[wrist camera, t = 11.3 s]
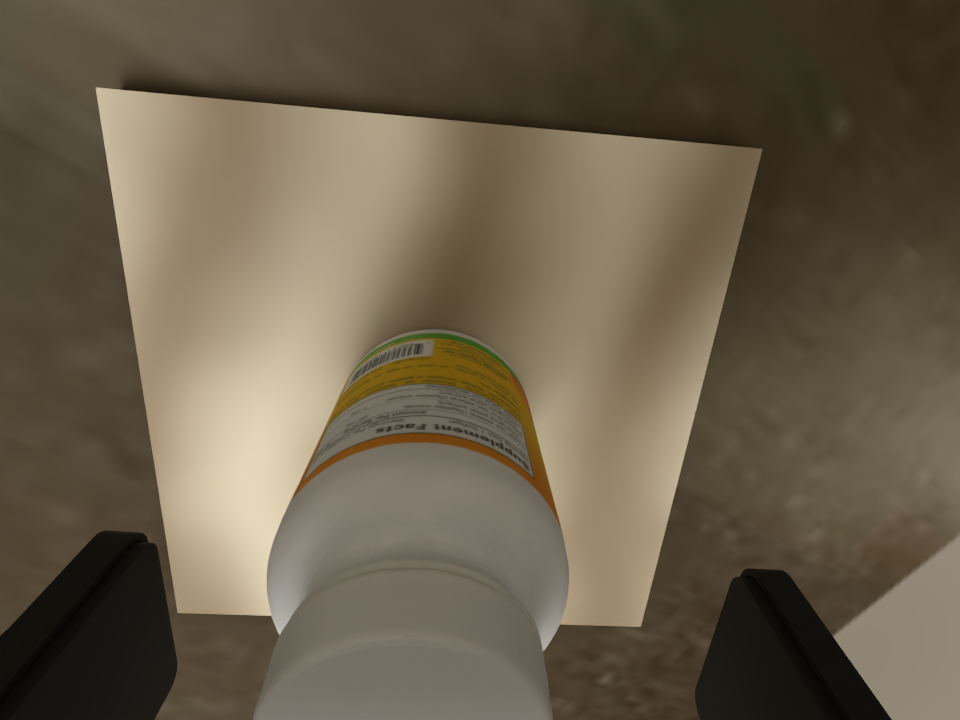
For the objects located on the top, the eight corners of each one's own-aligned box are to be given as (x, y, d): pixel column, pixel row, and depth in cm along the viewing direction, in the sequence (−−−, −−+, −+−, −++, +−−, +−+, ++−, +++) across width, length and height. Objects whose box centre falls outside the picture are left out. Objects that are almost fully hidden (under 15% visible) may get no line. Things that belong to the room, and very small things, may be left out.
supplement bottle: (480, 511, 18) (502, 904, 9) (317, 453, 17) (147, 827, 8) (559, 368, 16) (690, 671, 7) (381, 293, 15) (260, 531, 6)
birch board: (743, 148, 15) (762, 148, 14) (632, 604, 21) (640, 626, 20) (119, 90, 14) (95, 87, 13) (191, 590, 20) (177, 612, 19)
